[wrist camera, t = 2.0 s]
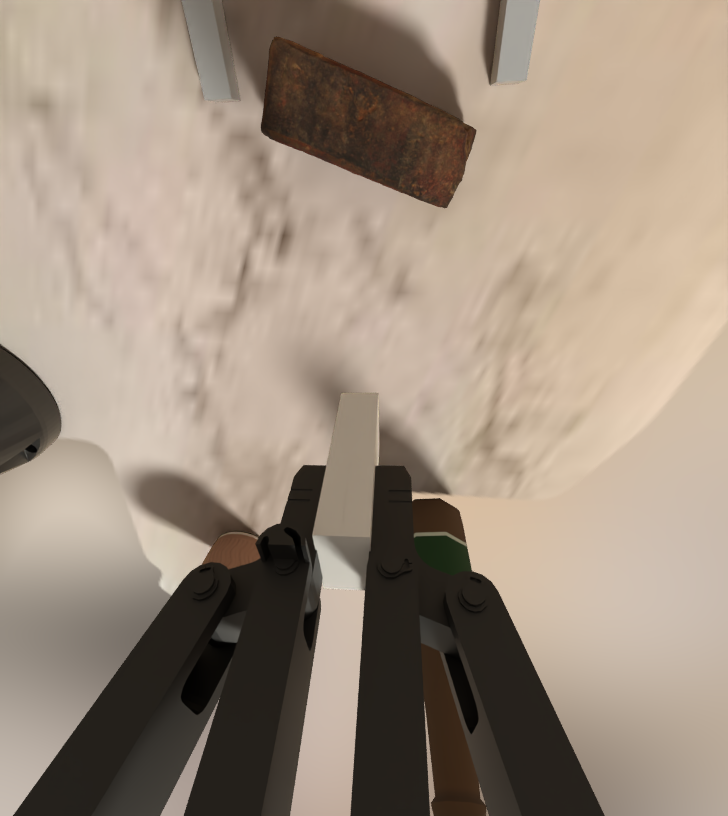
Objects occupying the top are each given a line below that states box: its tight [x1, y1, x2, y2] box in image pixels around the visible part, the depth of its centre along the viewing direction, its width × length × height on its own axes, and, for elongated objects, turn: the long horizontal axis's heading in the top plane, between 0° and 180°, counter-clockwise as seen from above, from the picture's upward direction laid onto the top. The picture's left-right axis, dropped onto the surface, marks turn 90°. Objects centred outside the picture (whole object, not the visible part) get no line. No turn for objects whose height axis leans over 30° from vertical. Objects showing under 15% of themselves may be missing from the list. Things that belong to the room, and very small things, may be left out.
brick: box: [261, 36, 476, 208], centre depth 20 cm, size 11×4×5 cm, turn 71°
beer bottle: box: [412, 498, 486, 816], centre depth 33 cm, size 8×8×24 cm
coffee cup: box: [202, 532, 260, 569], centre depth 44 cm, size 10×10×12 cm
